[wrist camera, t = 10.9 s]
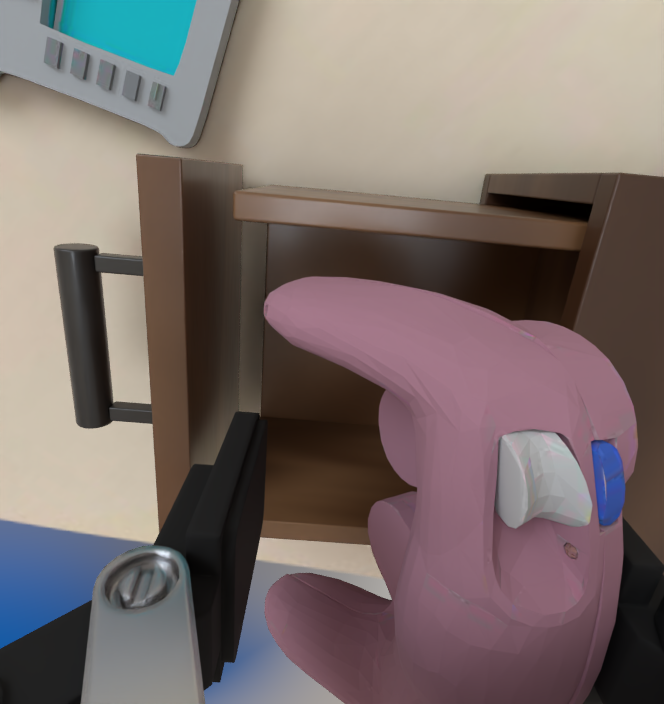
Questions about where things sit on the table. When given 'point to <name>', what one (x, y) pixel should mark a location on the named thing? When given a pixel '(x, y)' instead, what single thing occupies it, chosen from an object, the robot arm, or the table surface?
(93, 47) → the office telephone
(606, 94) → the table surface
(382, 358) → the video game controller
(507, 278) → the drawer
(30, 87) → the table surface
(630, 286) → the cabinet
